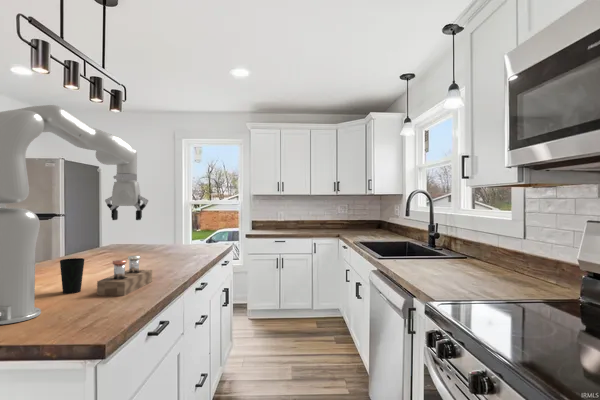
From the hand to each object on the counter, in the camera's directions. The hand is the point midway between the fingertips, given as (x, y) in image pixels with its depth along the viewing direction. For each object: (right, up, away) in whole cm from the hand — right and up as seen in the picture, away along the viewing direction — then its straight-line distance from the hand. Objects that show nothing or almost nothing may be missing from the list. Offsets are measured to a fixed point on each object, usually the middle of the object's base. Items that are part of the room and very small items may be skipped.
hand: (126, 220), depth 142 cm
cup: (-13, -26, -14) cm, 33 cm away
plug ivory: (+4, -22, -2) cm, 22 cm away
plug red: (+4, -22, -13) cm, 25 cm away
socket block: (+4, -26, -7) cm, 27 cm away
